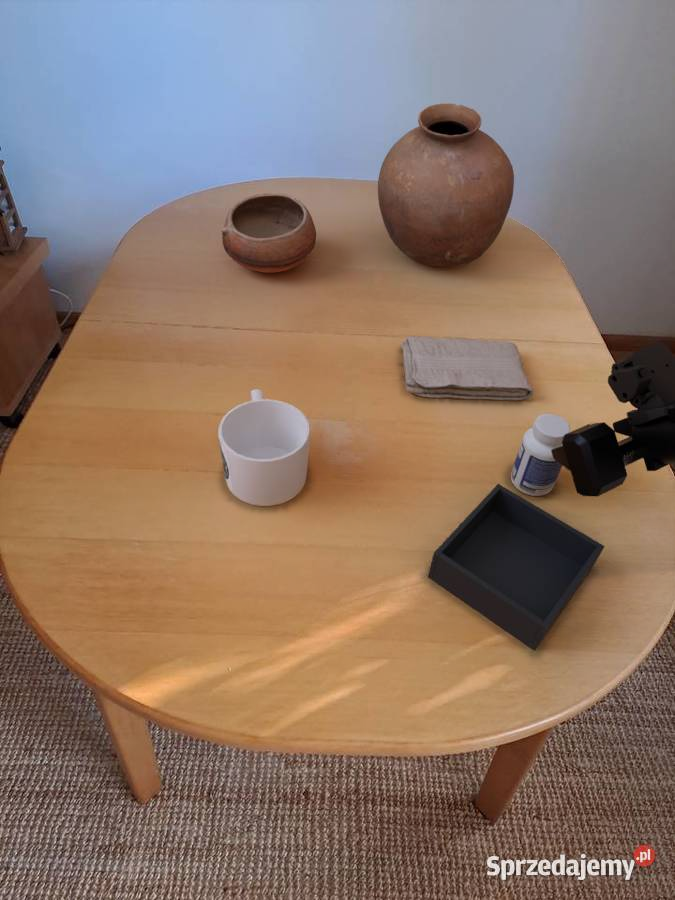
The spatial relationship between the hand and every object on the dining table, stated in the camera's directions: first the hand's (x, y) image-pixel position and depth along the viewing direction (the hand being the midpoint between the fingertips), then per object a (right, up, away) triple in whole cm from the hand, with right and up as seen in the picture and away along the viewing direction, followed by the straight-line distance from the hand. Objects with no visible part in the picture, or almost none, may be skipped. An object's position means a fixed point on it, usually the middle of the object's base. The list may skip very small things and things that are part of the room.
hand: (584, 440), depth 73 cm
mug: (-36, -3, +10) cm, 38 cm away
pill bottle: (-3, -5, +11) cm, 12 cm away
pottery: (-10, +35, +49) cm, 61 cm away
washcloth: (-9, +10, +25) cm, 28 cm away
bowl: (-39, +32, +45) cm, 67 cm away
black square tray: (-8, -15, +1) cm, 17 cm away
